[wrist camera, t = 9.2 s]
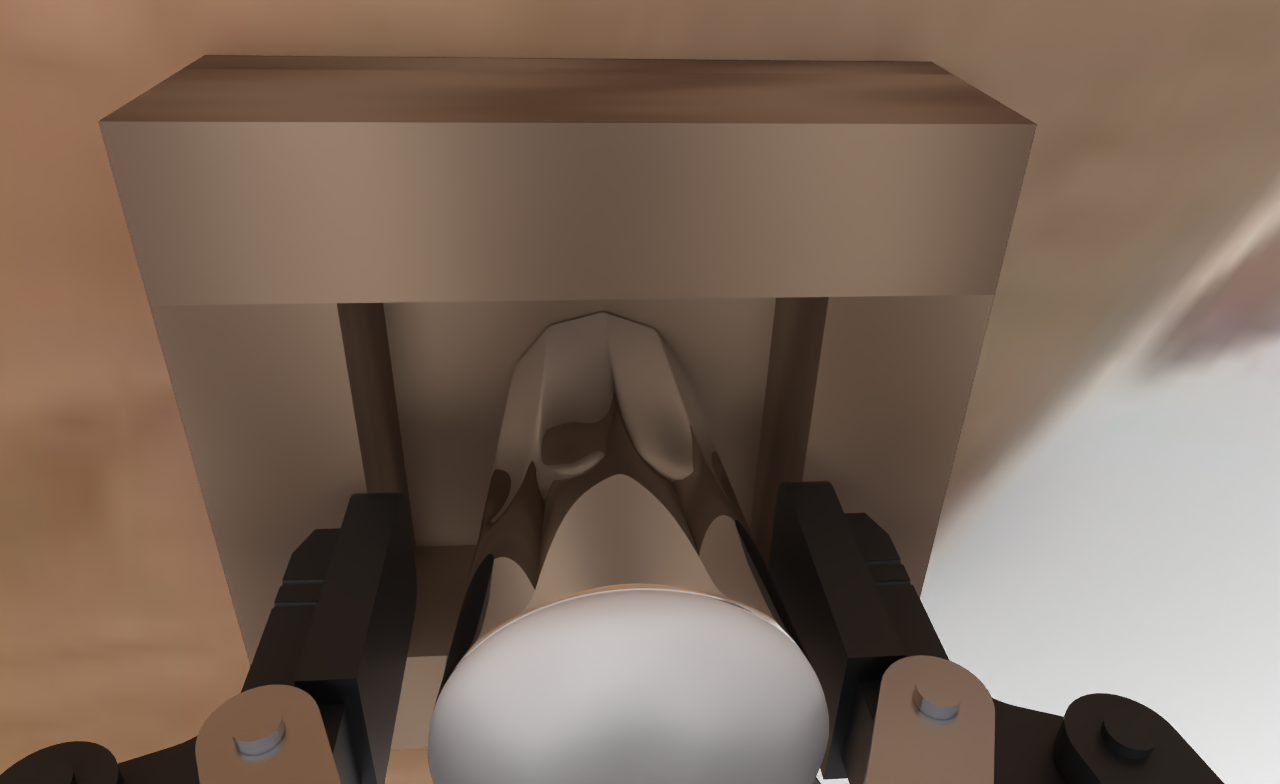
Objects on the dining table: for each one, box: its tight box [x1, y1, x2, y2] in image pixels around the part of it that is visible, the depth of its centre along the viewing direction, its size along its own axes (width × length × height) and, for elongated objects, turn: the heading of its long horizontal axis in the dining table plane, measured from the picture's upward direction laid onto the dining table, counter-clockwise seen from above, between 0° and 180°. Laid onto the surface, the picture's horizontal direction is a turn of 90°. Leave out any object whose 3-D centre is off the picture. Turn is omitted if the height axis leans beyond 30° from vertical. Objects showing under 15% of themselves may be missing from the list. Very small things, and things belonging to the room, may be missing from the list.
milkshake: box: [428, 312, 829, 784], centre depth 13 cm, size 4×5×10 cm
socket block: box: [98, 56, 1037, 750], centre depth 17 cm, size 12×12×4 cm
